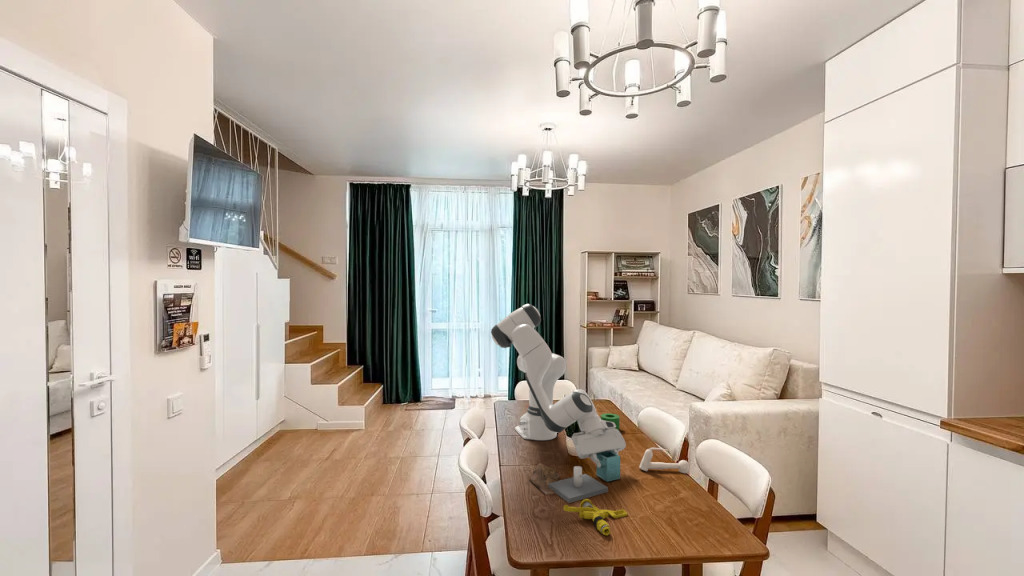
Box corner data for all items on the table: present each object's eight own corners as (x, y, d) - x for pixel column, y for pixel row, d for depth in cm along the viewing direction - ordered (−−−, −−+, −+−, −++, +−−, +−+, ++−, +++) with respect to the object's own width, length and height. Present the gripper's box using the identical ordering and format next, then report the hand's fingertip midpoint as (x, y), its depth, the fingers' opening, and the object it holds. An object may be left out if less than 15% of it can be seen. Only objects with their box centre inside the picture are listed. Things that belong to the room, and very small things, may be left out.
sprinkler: (580, 524, 115) (560, 496, 129) (578, 539, 115) (558, 510, 129) (643, 524, 120) (617, 498, 134) (641, 538, 120) (616, 510, 134)
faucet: (686, 486, 157) (695, 461, 157) (640, 469, 158) (649, 444, 158) (682, 481, 161) (691, 457, 161) (638, 465, 162) (646, 440, 162)
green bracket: (615, 425, 213) (615, 413, 213) (622, 431, 204) (622, 418, 205) (580, 427, 211) (580, 414, 211) (586, 433, 202) (586, 419, 202)
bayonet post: (548, 487, 146) (548, 465, 146) (585, 478, 153) (585, 457, 153) (569, 503, 135) (569, 479, 135) (607, 491, 143) (607, 469, 143)
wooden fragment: (563, 496, 140) (563, 493, 140) (530, 496, 141) (530, 492, 141) (556, 464, 166) (556, 461, 166) (528, 464, 166) (528, 461, 166)
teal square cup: (596, 475, 155) (596, 453, 155) (609, 472, 157) (609, 450, 157) (606, 481, 149) (606, 459, 149) (620, 478, 152) (620, 456, 152)
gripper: (573, 429, 155) (589, 466, 146) (618, 422, 164) (635, 456, 155) (566, 438, 159) (581, 474, 150) (610, 430, 168) (627, 464, 159)
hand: (609, 465), depth 153 cm, fingers closed on teal square cup, 6 cm apart
